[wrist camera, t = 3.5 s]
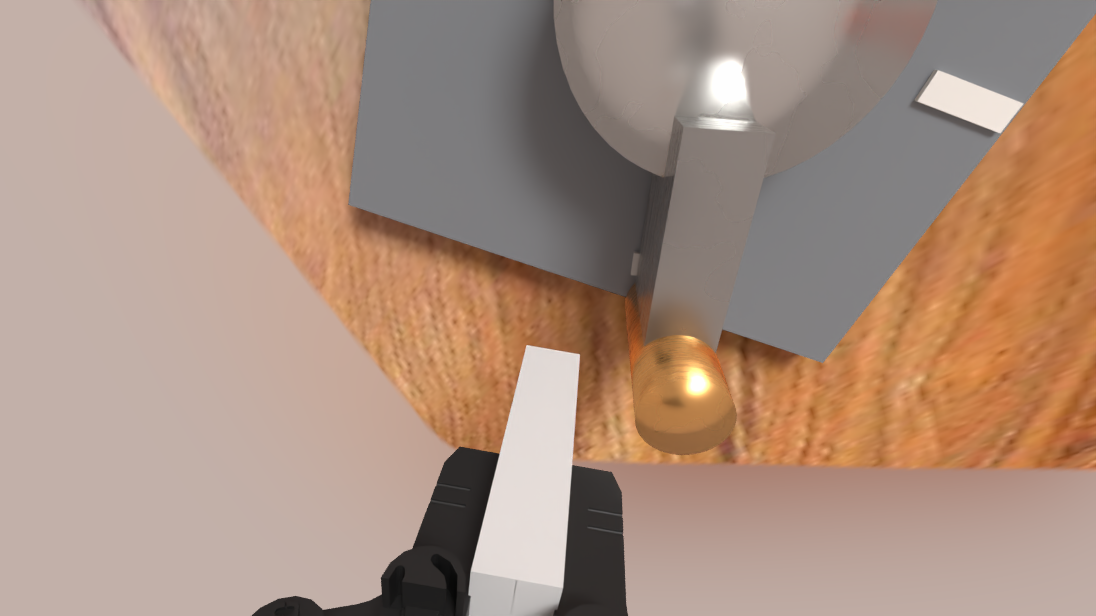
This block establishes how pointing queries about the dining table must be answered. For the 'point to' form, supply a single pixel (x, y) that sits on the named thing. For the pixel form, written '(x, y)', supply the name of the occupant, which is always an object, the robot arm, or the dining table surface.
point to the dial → (716, 155)
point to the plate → (623, 187)
